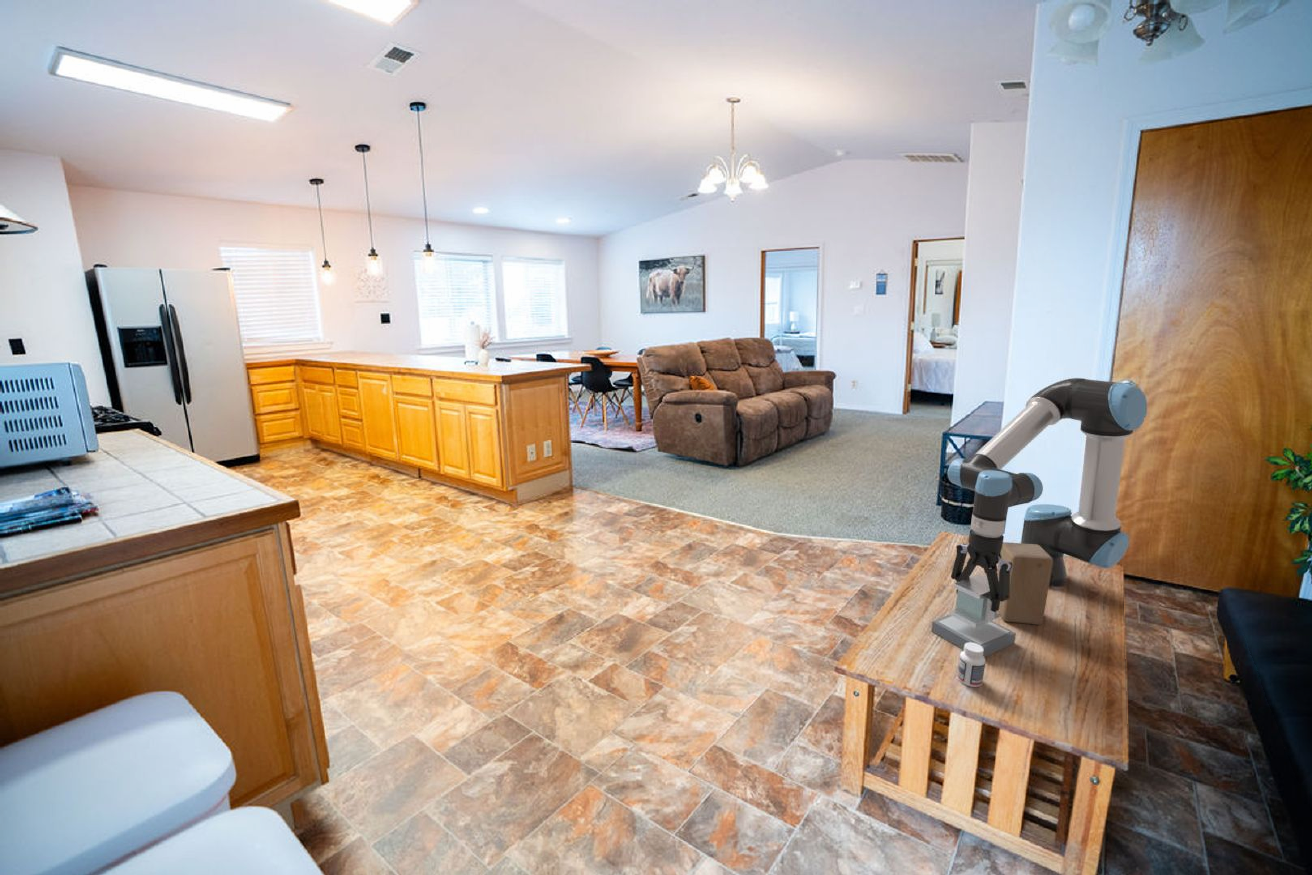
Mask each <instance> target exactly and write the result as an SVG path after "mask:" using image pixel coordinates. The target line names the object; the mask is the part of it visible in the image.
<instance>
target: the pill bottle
mask: <svg viewBox="0 0 1312 875" xmlns="http://www.w3.org/2000/svg"><path fill="white" fill-rule="evenodd" d="M983 652H984V649H983V647H982V646H980V645H978V644H976V643H971V642H969V643H965V645H964V650H963V651H961V652H960V654H959V662H958V669H957V679H958V681H959V682H960V683H961V684H963V685H965V686H968V687H971V688H978V687H980V686H982V685H983V682H984V677H985V676H984V675H985V667H986V658H985V657H984V656H983Z"/></svg>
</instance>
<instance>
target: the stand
mask: <svg viewBox="0 0 1312 875" xmlns="http://www.w3.org/2000/svg"><path fill="white" fill-rule="evenodd" d="M930 630H931V631H930V632H932V633H934V634H935V635H938V636H939V637H941V638H942V639H944V640H946V641H947V642H949V643H951V644H953V645H954V646H956V647H958V648H960V649H962V650H963V651H964V645H965V643H969V642H971V643H976V644H978V645H980V646H982V647H983V649H984V652H983V656H984V658H985V657H987V656H990V655H992V654H994V653H997V652H999V651H1001V650H1004V649H1005V648H1007V647H1009V646H1012V645H1014V644H1015V641H1016V634H1017V633H1016V632H1015V631H1013V630H1010V629H1009V628H1007V627H1005V626H1003V625H1001V624H999V623H998V622H997V623H996V622H994V620H993V621H991V622H989V623H985V624H983V625H981V626H979V627H977V628H975V627H973V626H971V625H969V624H967V623H965V622H963V621H961V620H959V619H957V618H955V617H953V616H952V615H951V613H949V614H947V615H945V616H943V617H940V618H937V619H935V620H933V621H932V622H931V629H930Z"/></svg>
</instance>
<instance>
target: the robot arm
mask: <svg viewBox="0 0 1312 875" xmlns="http://www.w3.org/2000/svg"><path fill="white" fill-rule="evenodd" d="M1147 414H1148V401H1147V397H1146V394H1145V393H1144V391H1143V390H1142V389H1141V388H1140V387H1138V386H1136V385H1131V384H1127V383H1123V382H1115V381H1114V382H1113V381H1106V380H1105V381H1104V380H1097V379H1096V380H1095V379H1086V378H1084V377H1083V378H1082V377H1074V378H1067V379H1062V380H1060V381H1056V382H1055V383H1052V384H1050V385H1048V386H1046V387H1044V388H1043V389H1041V390H1039V391H1038V392H1036V393H1034V394H1033V395H1032V396H1031V397H1030V398H1029V399H1028V400H1027V401H1026V403H1025V407H1024V408H1023V409H1022V410H1021V411H1020V412H1019V413H1018V414H1017V415H1016V416H1015V417H1013V419H1011V420H1010V421H1009V422H1008V423H1007V424H1006V425H1005V426H1003V428H1001V429H1000V430H999V431H998V432H997V433H996V434H995V435H994V436H993V437H992V438H991V439H989V441H987V442H986V443H985V444H984V445H983V446H982V447H981V448H980V449H979V450H977V452H975V453H974V454H973V455H972V456H971V457H970V458H968V459H966V458H960V457H959V458H955V459H954V460H953V461H951V463H950V465H949V466H948V469H947V477H948V480H949V482H951V484H953V485H956V486H959V487H960V488H962V489H968V490H970V491H974V499H973V500H974V501H973V509H972V515H971V523H970V530H969V536H968V545H967V544H966V543H960V544H958V545H956V547H955V548H956V555H955V559H954V564H953V567H952V570H951V574H950V575H951V576H950V578H951V579H952V580H955V582H959V581H962V580H964V579H967V578H969V577H971V576H972V574H973V572H974V570H975V569H976V567H977V566H978V567H980V568H982V569H983V570H984V574H986V577H987V580H988V584H989V589H990V594H991V598H988V602H987V609H986V616H985V622H986V623H989V622H991V621H993V622H994V621H995V619H994V617H995V612H996V611H997V612H998V610H999V606H1000V601H1001V602H1002V601H1005V600H1007V599H1009V591H1010V570H1011V568H1012V563H1011V562H1008V563H1007V562H1006V561H1004V560H1003V559H1002V557H1001V550H1002V545H1003V542H1004V538H1005V537H1004V534H1005V531H1006V524H1007V517H1008V511H1009V508H1011V507H1016V506H1020V505H1024V504H1029V503H1031V502H1033V501H1036V500H1038V499H1039V498H1040V497H1041V496H1042V495H1043V492H1044V486H1043V482H1042V480H1041V479H1040V477H1038V476H1037V475H1036V474H1034V473H1031V472H1018V473H1014V472H1011V471H1008V470H1004V468H1005V466H1006V465H1007V464H1008V463H1010V461H1012V460H1013V459H1014V458H1015V457H1016V456H1017V455H1018V454H1020V452H1022V451H1023V450H1024V449H1025V448H1026V447H1027V446H1028V445H1029V444H1030V443H1031V442H1033V440H1034V439H1036V437H1038V436H1039V435H1040V434H1041V433H1042V432H1043V431H1044V430H1045V429H1047V427H1049V426H1053V425H1056V424H1057V423H1058V422H1060V421H1061V420H1063V419H1064V420H1065V419H1071V420H1074V421H1080V431H1081V432H1082V433H1083V434H1084V435H1085V436H1086V437H1085V445H1084V446H1085V448H1084V454H1083V465H1082V476H1081V483H1080V491H1079V492H1080V493H1079V501H1078V502H1079V503H1078V511H1077V512H1075V513H1073V512H1072V509H1071V508H1069V507H1066V506H1063V505H1060V504H1059V505H1058V504H1051V503H1049V504H1046V503H1043V504H1041V503H1039V504H1038V503H1037V504H1033V505H1030V506H1028V507H1027V509H1026V511H1025V513H1024V514H1025V515H1024V518H1023V524H1022V532H1021V540H1020V543H1023V544H1037V545H1039V546H1041V547H1042V548H1043V549H1044V550H1045V551H1046V552H1047V553H1048V554H1049V555H1050V556H1051V557H1052V559H1053V565H1052V571H1051V577H1050V582H1049V587H1058V586H1064V585H1065V583H1066V582H1067V578H1068V572H1067V569H1066V564H1065V560H1064V555H1065V556H1068V557H1071V558H1074V559H1077V560H1079V561H1081V562H1084V563H1086V564H1089V565H1091V566H1096V567H1098V568H1102V569H1110V568H1112V567H1114V566H1115V565H1117V564H1118V563H1119V562H1120V561H1121V560H1122V558H1123V557H1124V556H1125V554H1126V553H1127V552H1126V551H1127V550H1128V548H1129V545H1130V536H1129V535H1128V533H1126V532H1125V531H1121V528H1122V522H1121V520H1120V519H1119V518H1117V516H1116V515H1117V506H1118V500H1119V498H1118V497H1119V490H1120V483H1121V474H1122V467H1123V466H1122V465H1123V459H1124V458H1123V457H1124V451H1125V442H1126V439H1127V438H1129V437H1130V436H1131V435H1133V433H1134V431H1136V430H1138V429H1139V428H1140V427H1142V425H1143V423H1144V421H1145V418H1146V416H1147ZM1072 513H1073V514H1072ZM967 554H968V555H969V559H968V560H967V559H966V558H967ZM966 560H967V562H966ZM965 562H966V565H965ZM997 564H999V569H1000V571H999V580H998V576H997V571H998V565H997ZM964 565H965V566H964ZM957 593H958V589H956V594H957Z"/></svg>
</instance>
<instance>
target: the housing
mask: <svg viewBox="0 0 1312 875" xmlns="http://www.w3.org/2000/svg"><path fill="white" fill-rule="evenodd" d="M953 589H956V590H957V589H958V593H957V592H956V603H955V609H952V610H950V614H951V615H952V616H953V617H955V618H957V619H959V620H961V621H963V622H965V623H967V624H969V625H971V626H973V627H975V628H977V627H979V626H981V625H983V624H985V623H986V622H985V616H986V609H987V602H988V598H991V594H990V589H989V584H988V580H987V576H985V575H982V574H980V573H977V574H975V575H973V576H972V575H971V576H970V577H969V578H967V579H964V580H962V581H959V582H957V581H955V582H954V584H953ZM1000 618H1001V616H1000V612H998V611H996V612H995V617H994V620H997V619H1000Z"/></svg>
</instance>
